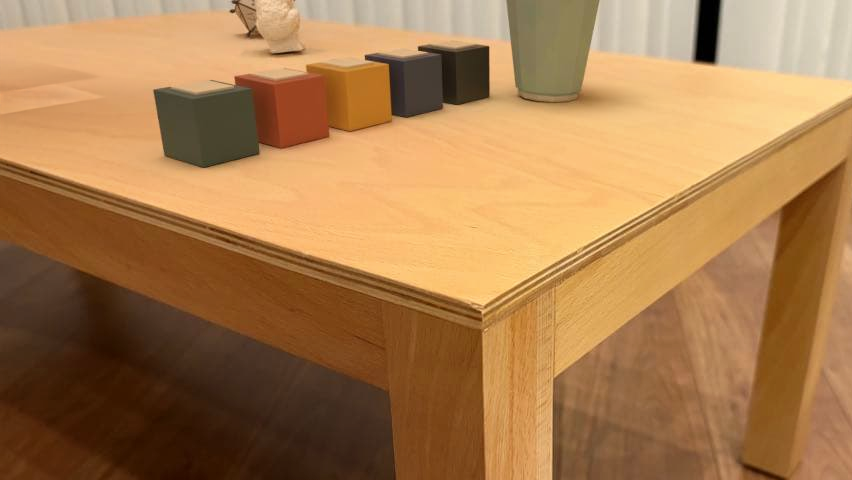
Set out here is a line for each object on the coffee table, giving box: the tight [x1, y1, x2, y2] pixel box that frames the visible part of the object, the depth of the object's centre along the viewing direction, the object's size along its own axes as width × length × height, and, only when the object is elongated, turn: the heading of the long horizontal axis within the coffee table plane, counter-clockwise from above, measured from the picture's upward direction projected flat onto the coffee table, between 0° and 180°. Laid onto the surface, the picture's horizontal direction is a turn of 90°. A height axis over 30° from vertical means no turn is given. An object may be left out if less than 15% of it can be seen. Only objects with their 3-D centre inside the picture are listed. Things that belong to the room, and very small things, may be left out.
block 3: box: [364, 48, 444, 118], centre depth 80 cm, size 5×5×5 cm
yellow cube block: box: [305, 57, 393, 132], centre depth 75 cm, size 5×5×5 cm
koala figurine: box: [254, 0, 306, 54], centre depth 106 cm, size 8×7×12 cm
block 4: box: [417, 40, 491, 106], centre depth 85 cm, size 5×5×5 cm
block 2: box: [233, 67, 330, 149], centre depth 70 cm, size 5×5×5 cm
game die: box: [228, 0, 296, 39], centre depth 119 cm, size 9×8×10 cm
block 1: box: [152, 79, 261, 168], centre depth 65 cm, size 5×5×5 cm
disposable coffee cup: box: [505, 0, 601, 103], centre depth 85 cm, size 11×11×15 cm
